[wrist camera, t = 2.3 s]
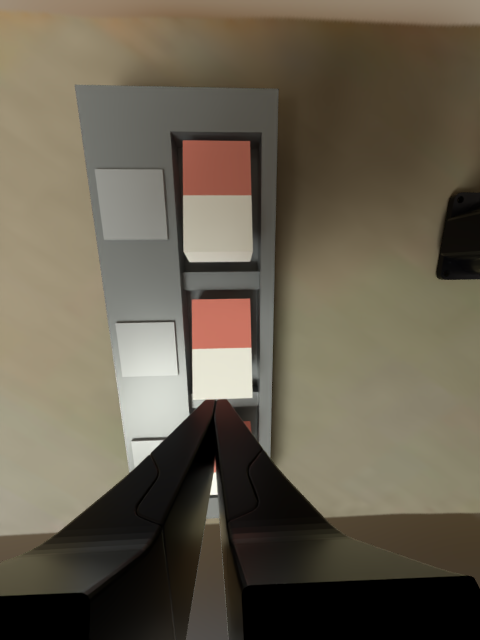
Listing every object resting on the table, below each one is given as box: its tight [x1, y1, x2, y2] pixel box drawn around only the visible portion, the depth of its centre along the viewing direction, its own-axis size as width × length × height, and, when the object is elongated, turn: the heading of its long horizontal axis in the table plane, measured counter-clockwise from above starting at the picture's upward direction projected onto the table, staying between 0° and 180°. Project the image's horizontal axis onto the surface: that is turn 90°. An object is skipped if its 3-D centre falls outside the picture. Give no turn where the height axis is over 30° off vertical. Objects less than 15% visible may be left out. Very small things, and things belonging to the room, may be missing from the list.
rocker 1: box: [183, 140, 253, 262], centre depth 14 cm, size 4×6×2 cm, turn 1°
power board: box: [75, 85, 279, 519], centre depth 17 cm, size 11×30×4 cm, turn 1°
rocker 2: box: [192, 299, 253, 400], centre depth 16 cm, size 4×6×2 cm, turn 0°
